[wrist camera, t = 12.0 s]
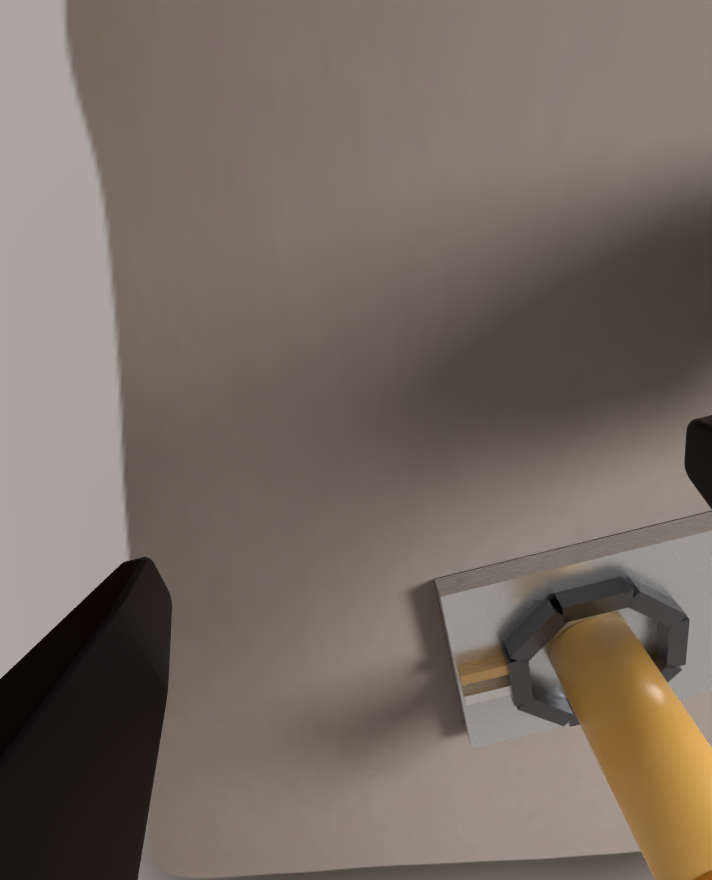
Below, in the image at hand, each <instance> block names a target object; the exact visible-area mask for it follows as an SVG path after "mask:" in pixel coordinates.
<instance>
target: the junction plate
mask: <svg viewBox="0 0 712 880" xmlns="http://www.w3.org/2000/svg"><path fill="white" fill-rule="evenodd" d="M434 580H435V584H436V589H437V594H438V599H439V603H440V608H441V613H442V618H443V622H444V627H445V632H446V637H447V641H448V646H449V651H450V656H451V661H452V665H453V670H454V675H455V680H456V684H457V689H458V694H459V699H460V703H461V708H462V713H463V718H464V723H465V727H466V731H467V735H468V738H469V741H470V745H471V748H472V749H473V748H477V747H481V746H485V745H489V744H494V743H498V742H502V741H506V740H510V739H514V738H519V737H523V736H527V735H531V734H535V733H539V732H543V731H548V730H552V729H556V728H560V727H564V726H568V725H570V727H571V726H575V725H579V724H580V723H579V721H578V719H577V717H576V715H575V713H574V711H573V709H572V706H571V704H570V702H569V700H568V698H567V696H566V694H565V692H564V690H563V688H562V686H561V684H560V682H559V679H558V677H557V675H556V673H555V671H554V669H553V667H552V665H551V662H550V651H551V648H552V646H553V644H554V642H555V641H556V640H557V638H558V637H559V636H560V635H561V634H562V633H563V632H565V631H566V630H567V629H569V628H570V627H572V626H574V625H576V624H578V623H580V622H583V621H585V620H589V619H593V618H601V617H609V618H615V619H619V620H621V621H623V622H625V623H626V624H627V625H628V626H629V627H630V628H631V629H632V631H633V632H634V634H635V635H636V637H637V638H638V640H639V641H640V643H641V644H642V646H643V647H644V649H645V650H646V652H647V653H648V655H649V656H650V658H651V659H652V661H653V662H654V663H655V665H656V666H657V668H658V669H659V671H660V672H661V674H662V675H663V677H664V678H665V680H666V681H667V683H668V684H669V686H670V687H671V689H672V690H673V692H674V693H675V695H676V696H677V698H678V699H681V698H685V697H689V696H693V695H697V694H702V693H706V692H710V691H712V511H711V512H707V513H703V514H699V515H695V516H691V517H686V518H682V519H678V520H674V521H670V522H666V523H662V524H658V525H654V526H650V527H646V528H642V529H638V530H634V531H629V532H625V533H621V534H617V535H613V536H609V537H605V538H601V539H597V540H593V541H589V542H585V543H581V544H576V545H572V546H568V547H564V548H560V549H556V550H552V551H548V552H544V553H540V554H536V555H532V556H528V557H523V558H519V559H515V560H511V561H507V562H503V563H499V564H495V565H491V566H487V567H483V568H479V569H475V570H470V571H466V572H462V573H458V574H454V575H450V576H446V577H442V578H438V579H434Z"/></svg>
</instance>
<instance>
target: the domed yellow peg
mask: <svg viewBox="0 0 712 880" xmlns="http://www.w3.org/2000/svg"><path fill="white" fill-rule="evenodd" d="M550 662H551V665H552V667H553V669H554V671H555V673H556V675H557V677H558V679H559V682H560V684H561V686H562V688H563V690H564V692H565V694H566V696H567V698H568V700H569V702H570V704H571V706H572V709H573V711H574V713H575V715H576V717H577V719H578V721H579V723H580V725H581V727H582V729H583V731H584V734H585V736H586V738H587V740H588V742H589V744H590V746H591V748H592V750H593V752H594V754H595V756H596V758H597V761H598V763H599V765H600V767H601V769H602V771H603V773H604V775H605V777H606V779H607V781H608V783H609V786H610V788H611V790H612V792H613V794H614V796H615V798H616V800H617V802H618V804H619V806H620V808H621V810H622V813H623V815H624V817H625V819H626V821H627V823H628V825H629V827H630V829H631V831H632V833H633V835H634V838H635V840H636V842H637V844H638V846H639V848H640V850H641V852H642V854H643V856H644V858H645V860H646V863H647V865H648V867H649V869H650V871H651V873H652V875H653V876H654V879H655V880H712V748H711V746H710V745H709V743H708V742H707V741H706V739H705V738H704V736H703V735H702V733H701V732H700V730H699V729H698V727H697V726H696V724H695V723H694V721H693V720H692V718H691V717H690V715H689V714H688V712H687V711H686V709H685V708H684V706H683V705H682V703H681V702H680V701H679V699H678V698H677V696H676V695H675V693H674V692H673V690H672V689H671V687H670V686H669V684H668V683H667V681H666V680H665V678H664V677H663V675H662V674H661V672H660V671H659V669H658V668H657V666H656V665H655V663H654V662H653V661H652V659H651V658H650V656H649V655H648V653H647V652H646V650H645V649H644V647H643V646H642V644H641V643H640V641H639V640H638V638H637V637H636V635H635V634H634V632H633V631H632V629H631V628H630V627H629V626H628V625H627V624H626V623H625V622H623V621H621V620H619V619H615V618H609V617H601V618H593V619H589V620H585V621H583V622H580V623H578V624H576V625H574V626H572V627H570V628H569V629H567V630H566V631H565V632H563V633H562V634H561V635H560V636H559V637H558V638H557V640H556V641H555V642H554V644H553V646H552V648H551V651H550Z"/></svg>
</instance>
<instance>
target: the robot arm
mask: <svg viewBox="0 0 712 880" xmlns="http://www.w3.org/2000/svg"><path fill="white" fill-rule="evenodd" d="M684 462H685V470H686V473H687V475H688V477H689V479H690V480H691V481H692V483H693V484H694V486H695V487H696V488H697V490H698V491H699V492H700V494H701V495H702V497H703V498H704V499H705V501H706V502H707V503H708V505H709V506H710V508H711V509H712V415H710V416H706V417H702V418H698V419H694V420H692V421H691V422H690V423H689V424H688V427H687V432H686V447H685V461H684ZM171 617H172V601H171V596H170V593H169V591H168V589H167V587H166V585H165V583H164V581H163V579H162V577H161V575H160V574H159V572H158V570H157V568H156V566H155V564H154V563H153V561H152V560H151V559H150V558H147V557H142V558H138V559H134V560H130V561H126V562H124V563H122V564H121V565H120V566H119V567H118V568H117V569H116V570H114V571H113V573H111V574H110V575H109V576H108V577H107V578H106V579H105V580H104V581H103V582H102V583H101V584H100V585H99V586H98V587H97V588H95V590H93V591H92V592H91V593H90V594H89V595H88V596H87V597H86V598H85V599H84V600H83V601H82V602H81V603H80V604H79V605H78V606H77V607H76V608H74V609H73V611H71V612H70V613H69V614H68V615H67V616H66V617H65V618H64V619H63V620H62V621H61V622H60V623H59V624H58V625H57V626H56V627H55V628H53V629H52V630H51V631H50V632H49V633H48V634H47V635H46V636H45V637H44V638H43V639H42V640H41V641H40V642H39V643H38V644H37V645H36V646H35V647H34V648H32V649H31V650H30V652H28V653H27V654H26V655H25V656H24V657H23V658H22V659H21V660H20V661H19V662H18V663H17V664H16V665H15V666H14V667H13V668H12V669H10V670H9V671H8V672H7V673H6V674H5V675H4V676H3V677H2V678H1V679H0V880H138V873H139V867H140V861H141V854H142V849H143V843H144V837H145V831H146V825H147V818H148V812H149V806H150V800H151V794H152V788H153V781H154V775H155V769H156V763H157V757H158V750H159V744H160V738H161V732H162V726H163V720H164V713H165V707H166V700H167V693H168V681H169V661H170V639H171Z"/></svg>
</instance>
